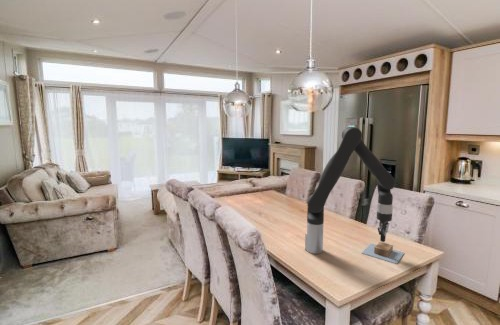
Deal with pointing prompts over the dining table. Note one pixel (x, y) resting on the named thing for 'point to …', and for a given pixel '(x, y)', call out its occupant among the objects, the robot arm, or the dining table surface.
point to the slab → (383, 249)
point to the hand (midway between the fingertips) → (382, 241)
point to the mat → (392, 258)
